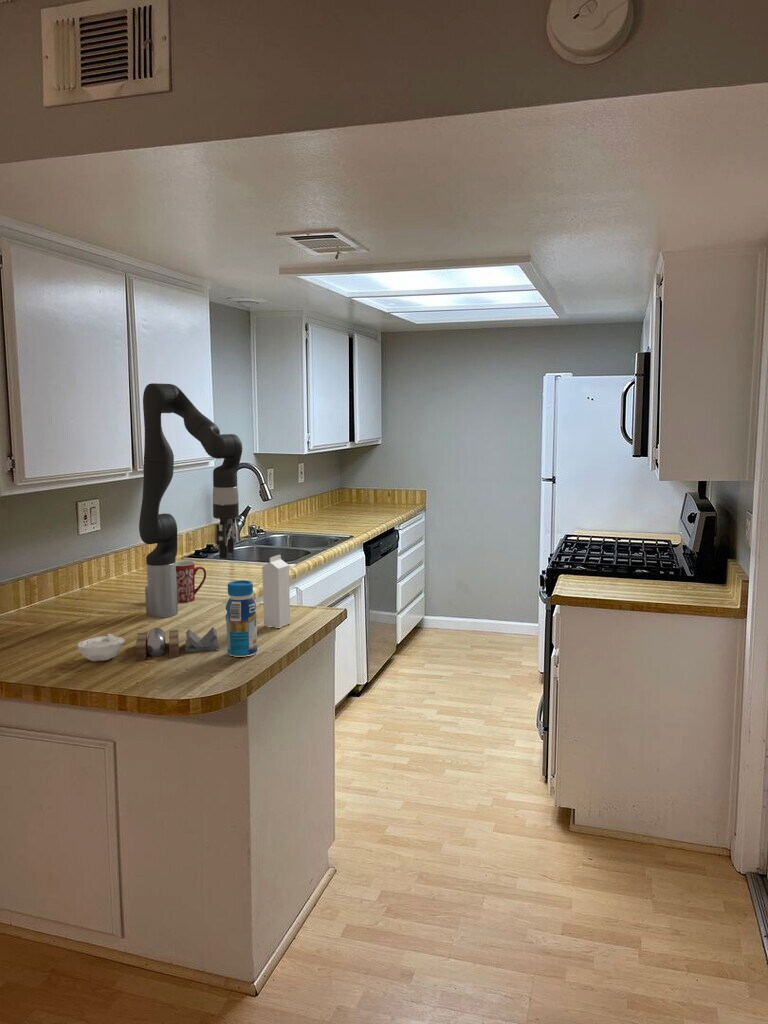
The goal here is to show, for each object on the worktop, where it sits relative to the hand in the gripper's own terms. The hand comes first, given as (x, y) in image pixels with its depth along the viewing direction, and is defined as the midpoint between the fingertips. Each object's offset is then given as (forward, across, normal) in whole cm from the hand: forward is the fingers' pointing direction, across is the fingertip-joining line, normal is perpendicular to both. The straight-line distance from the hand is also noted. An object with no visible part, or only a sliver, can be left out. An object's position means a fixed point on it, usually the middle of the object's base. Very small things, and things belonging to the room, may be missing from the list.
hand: (226, 555), depth 229 cm
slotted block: (+24, +19, -15) cm, 34 cm away
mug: (+24, -38, -23) cm, 51 cm away
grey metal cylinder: (+24, +18, -16) cm, 34 cm away
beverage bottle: (+23, +22, +9) cm, 33 cm away
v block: (+23, +16, -4) cm, 28 cm away
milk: (+24, -6, +14) cm, 28 cm away
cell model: (+24, +27, -28) cm, 46 cm away
